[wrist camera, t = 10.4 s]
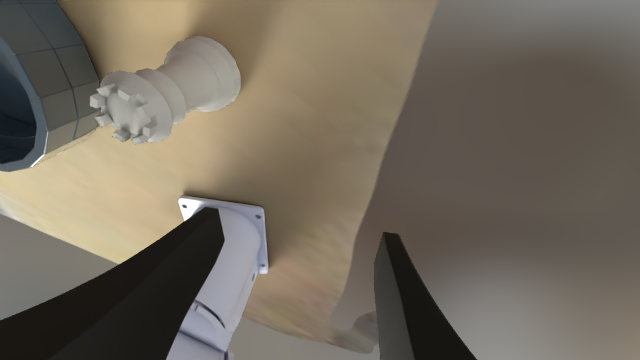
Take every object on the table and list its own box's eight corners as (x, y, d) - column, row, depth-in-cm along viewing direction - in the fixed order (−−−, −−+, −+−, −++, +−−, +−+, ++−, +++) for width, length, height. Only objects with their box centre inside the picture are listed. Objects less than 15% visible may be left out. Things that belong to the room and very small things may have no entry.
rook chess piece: (190, 105, 19) (100, 161, 12) (168, 35, 16) (40, 60, 10) (249, 106, 18) (187, 165, 12) (235, 33, 16) (147, 58, 9)
